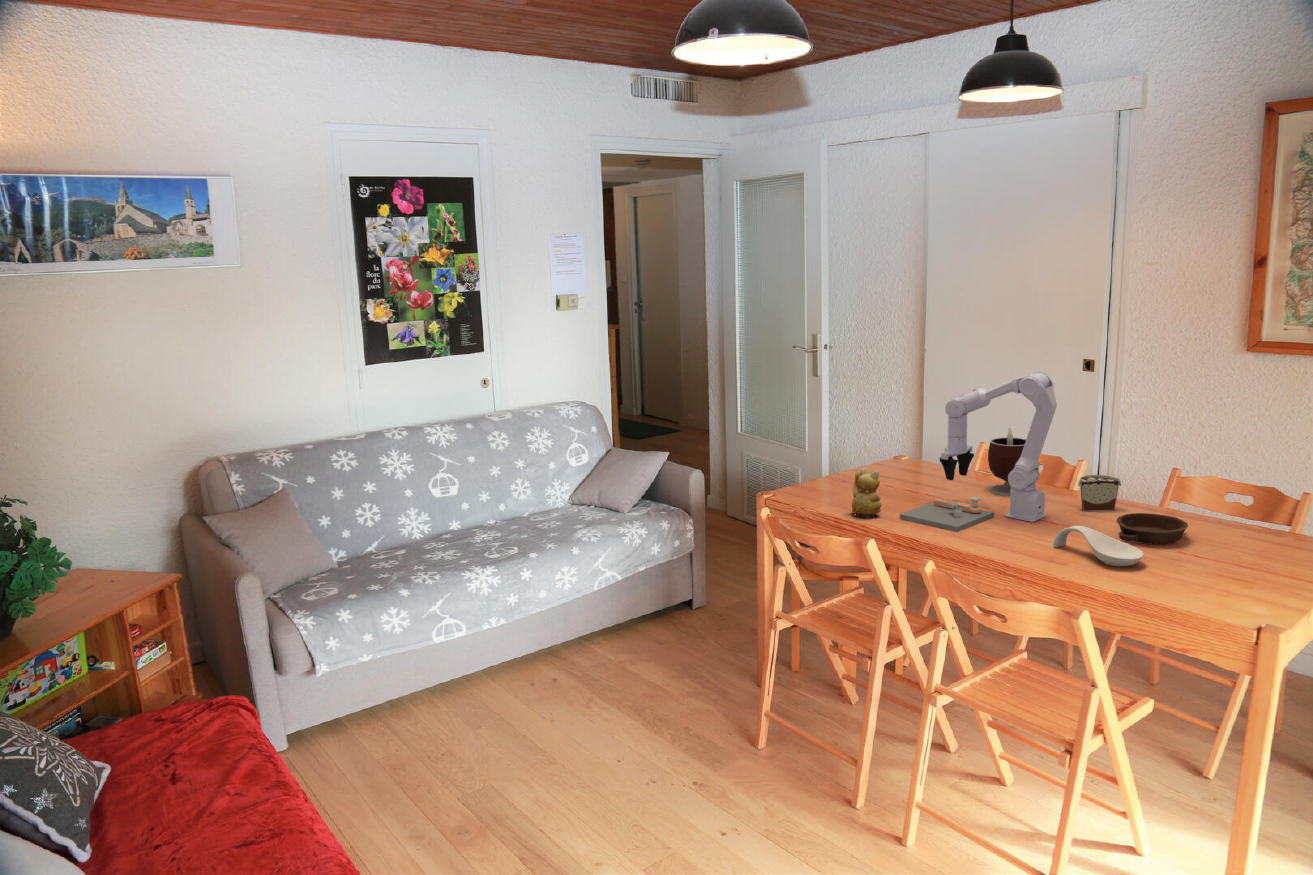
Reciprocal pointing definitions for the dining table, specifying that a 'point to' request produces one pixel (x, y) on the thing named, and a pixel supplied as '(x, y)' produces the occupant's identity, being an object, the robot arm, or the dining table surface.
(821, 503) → the dining table surface
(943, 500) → the link
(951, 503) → the keeper
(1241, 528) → the dining table surface
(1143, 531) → the dish
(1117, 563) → the spoon rest
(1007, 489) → the mate gourd
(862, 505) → the decorative figurine
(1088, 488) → the food container
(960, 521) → the board
